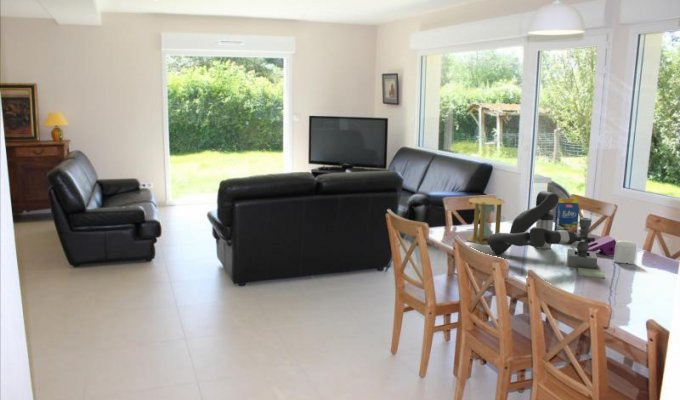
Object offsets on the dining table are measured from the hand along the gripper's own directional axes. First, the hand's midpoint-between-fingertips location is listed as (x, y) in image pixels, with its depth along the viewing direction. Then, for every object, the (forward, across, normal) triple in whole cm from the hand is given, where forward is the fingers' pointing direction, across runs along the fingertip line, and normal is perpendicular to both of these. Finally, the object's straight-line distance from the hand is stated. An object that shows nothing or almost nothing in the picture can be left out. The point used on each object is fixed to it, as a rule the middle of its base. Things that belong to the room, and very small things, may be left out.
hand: (588, 237), depth 310 cm
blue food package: (+30, -52, -12) cm, 61 cm away
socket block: (-2, -1, -15) cm, 15 cm away
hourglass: (-23, -60, -16) cm, 66 cm away
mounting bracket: (+24, -17, -13) cm, 32 cm away
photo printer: (+24, +3, -13) cm, 27 cm away
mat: (-8, +14, -16) cm, 22 cm away
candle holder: (-2, -1, -15) cm, 15 cm away
